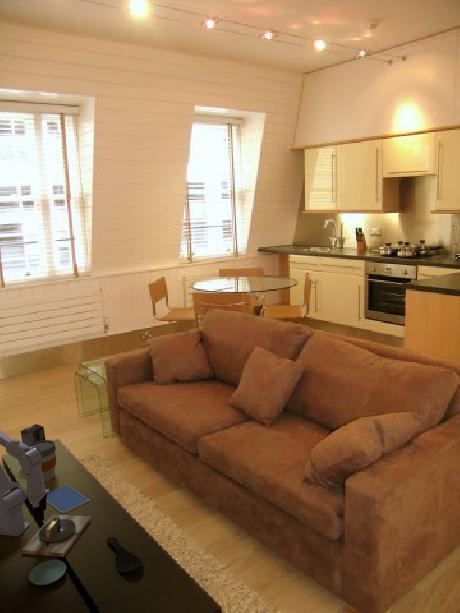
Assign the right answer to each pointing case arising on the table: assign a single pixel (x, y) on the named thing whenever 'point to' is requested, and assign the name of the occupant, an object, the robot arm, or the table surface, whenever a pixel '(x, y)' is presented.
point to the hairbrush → (124, 558)
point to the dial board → (57, 548)
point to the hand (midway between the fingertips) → (42, 515)
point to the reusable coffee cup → (47, 457)
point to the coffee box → (33, 434)
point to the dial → (57, 530)
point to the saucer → (47, 572)
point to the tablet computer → (65, 499)
